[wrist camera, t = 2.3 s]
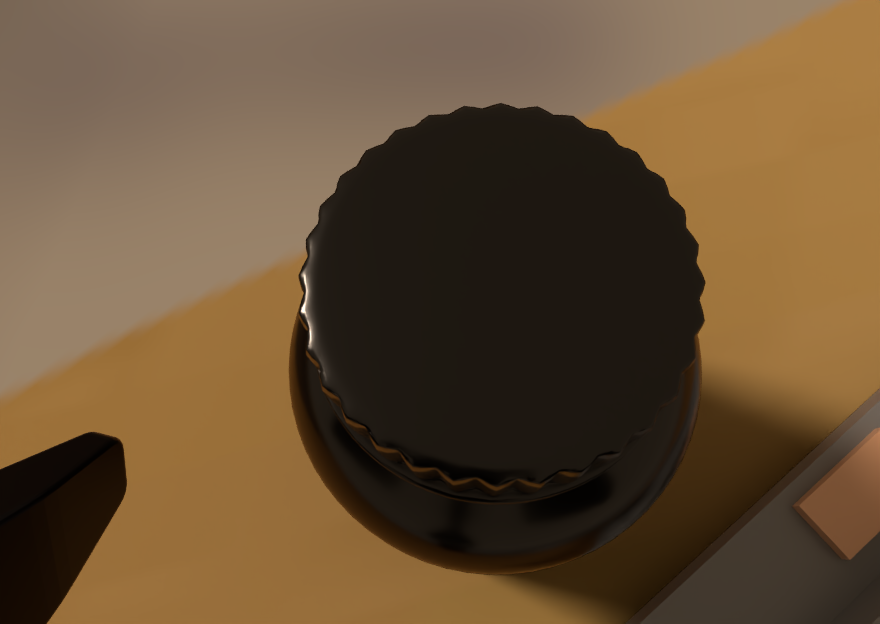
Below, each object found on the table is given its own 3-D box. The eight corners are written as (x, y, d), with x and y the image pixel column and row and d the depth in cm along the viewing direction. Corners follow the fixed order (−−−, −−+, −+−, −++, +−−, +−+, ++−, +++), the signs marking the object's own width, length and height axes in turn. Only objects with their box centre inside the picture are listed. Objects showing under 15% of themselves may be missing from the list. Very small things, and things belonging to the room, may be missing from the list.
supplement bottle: (664, 442, 19) (943, 315, 8) (473, 618, 18) (472, 769, 7) (495, 262, 21) (520, -57, 10) (311, 413, 20) (92, 258, 8)
